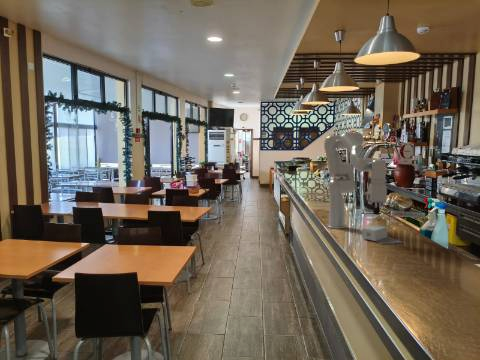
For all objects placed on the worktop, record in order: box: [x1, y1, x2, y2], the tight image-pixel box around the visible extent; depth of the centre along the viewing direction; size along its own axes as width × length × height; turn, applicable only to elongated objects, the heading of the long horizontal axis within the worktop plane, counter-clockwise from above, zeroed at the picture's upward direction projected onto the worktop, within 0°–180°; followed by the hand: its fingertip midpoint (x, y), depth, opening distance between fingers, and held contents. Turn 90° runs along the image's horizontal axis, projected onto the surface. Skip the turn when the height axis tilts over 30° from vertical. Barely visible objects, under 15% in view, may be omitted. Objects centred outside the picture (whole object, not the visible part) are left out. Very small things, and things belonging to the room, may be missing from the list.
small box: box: [362, 224, 388, 242], centre depth 212 cm, size 8×6×13 cm
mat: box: [375, 235, 404, 245], centre depth 210 cm, size 16×13×1 cm
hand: (376, 214), depth 208 cm, fingers closed
